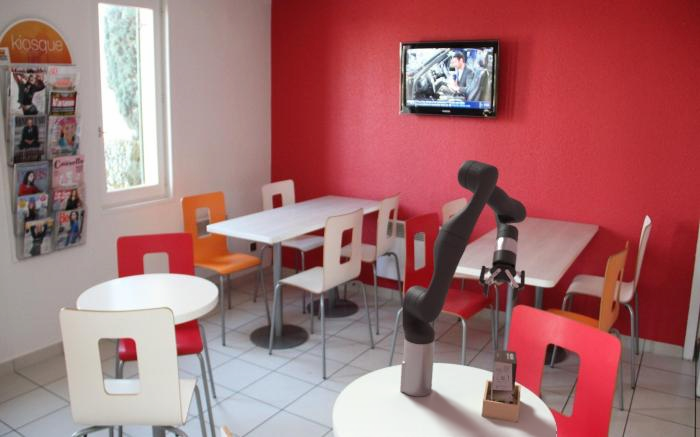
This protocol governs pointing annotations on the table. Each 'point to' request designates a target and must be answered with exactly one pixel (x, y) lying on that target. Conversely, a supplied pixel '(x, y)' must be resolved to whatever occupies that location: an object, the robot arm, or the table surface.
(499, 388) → the coffee box
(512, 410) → the open box
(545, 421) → the table surface
